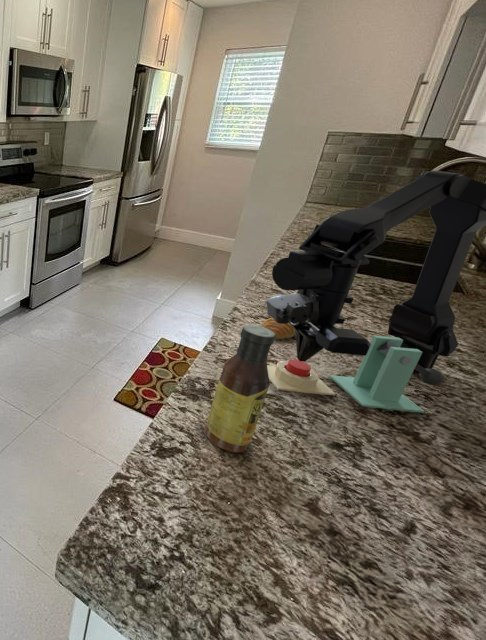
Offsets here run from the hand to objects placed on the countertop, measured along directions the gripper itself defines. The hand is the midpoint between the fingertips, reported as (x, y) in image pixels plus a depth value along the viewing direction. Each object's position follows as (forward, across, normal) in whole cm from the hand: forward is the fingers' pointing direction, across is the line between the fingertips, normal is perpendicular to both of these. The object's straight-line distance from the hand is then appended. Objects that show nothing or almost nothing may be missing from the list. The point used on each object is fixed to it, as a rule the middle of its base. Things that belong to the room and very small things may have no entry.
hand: (301, 360), depth 79 cm
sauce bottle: (+6, +18, -20) cm, 28 cm away
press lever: (-1, +2, +16) cm, 16 cm away
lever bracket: (+5, +2, +13) cm, 14 cm away
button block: (+5, 0, 0) cm, 5 cm away
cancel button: (+3, 0, 0) cm, 3 cm away
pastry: (+6, -21, +8) cm, 23 cm away
